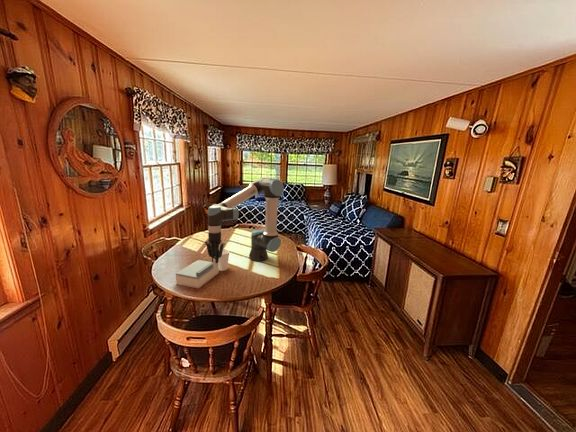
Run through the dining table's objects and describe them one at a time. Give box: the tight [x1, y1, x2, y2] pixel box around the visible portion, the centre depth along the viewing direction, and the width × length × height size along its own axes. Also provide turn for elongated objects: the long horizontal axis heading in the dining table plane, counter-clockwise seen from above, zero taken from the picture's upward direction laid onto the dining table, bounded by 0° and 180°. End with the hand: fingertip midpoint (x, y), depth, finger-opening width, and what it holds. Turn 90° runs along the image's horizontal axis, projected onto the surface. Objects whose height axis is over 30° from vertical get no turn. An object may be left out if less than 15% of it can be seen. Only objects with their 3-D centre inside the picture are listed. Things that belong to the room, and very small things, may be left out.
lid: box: [175, 259, 213, 279], centre depth 155 cm, size 16×22×4 cm
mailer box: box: [175, 267, 220, 289], centre depth 156 cm, size 16×22×6 cm
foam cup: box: [218, 248, 230, 272], centre depth 170 cm, size 10×9×13 cm
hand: (215, 267), depth 151 cm, fingers closed
